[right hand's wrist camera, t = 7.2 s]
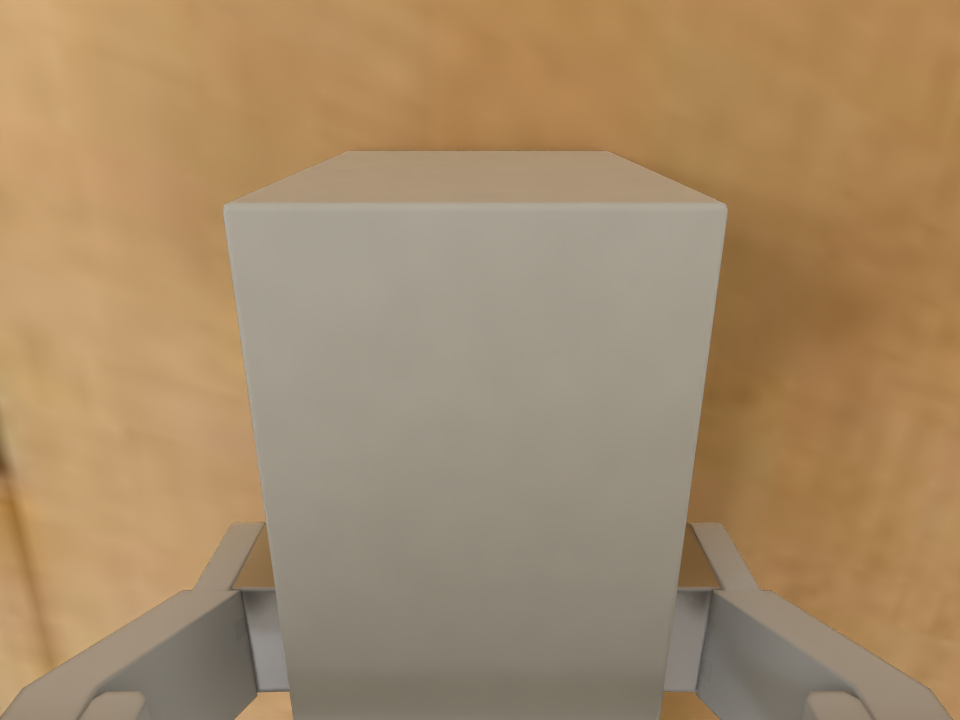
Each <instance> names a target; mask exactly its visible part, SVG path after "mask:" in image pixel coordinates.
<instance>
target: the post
mask: <svg viewBox="0 0 960 720" xmlns="http://www.w3.org/2000/svg"><path fill="white" fill-rule="evenodd" d="M727 215H728V208H727V205H726V204H725V203H723V202H721V201H718V200H716V199H714V198H712V197H709V196H707V195H705V194H703V193H701V192H698V191H696V190H694V189H692V188H689V187H687V186H685V185H683V184H681V183H678V182H676V181H674V180H672V179H669V178H667V177H665V176H663V175H660V174H658V173H656V172H654V171H652V170H649V169H647V168H645V167H643V166H640V165H638V164H636V163H634V162H632V161H629V160H627V159H625V158H623V157H620V156H618V155H616V154H614V153H612V152H609V151H346V152H343V153H341V154H339V155H337V156H334V157H332V158H330V159H327V160H325V161H323V162H320V163H318V164H316V165H313V166H311V167H309V168H306V169H304V170H302V171H299V172H297V173H295V174H293V175H290V176H288V177H286V178H283V179H281V180H279V181H276V182H274V183H272V184H269V185H267V186H265V187H262V188H260V189H258V190H255V191H253V192H251V193H249V194H246V195H244V196H242V197H239V198H237V199H235V200H232V201H230V202H228V203H225V204H224V207H223V217H224V224H225V231H226V238H227V245H228V253H229V260H230V267H231V274H232V281H233V288H234V296H235V303H236V310H237V317H238V324H239V331H240V339H241V346H242V353H243V360H244V367H245V375H246V382H247V389H248V396H249V403H250V410H251V418H252V425H253V432H254V439H255V446H256V453H257V461H258V468H259V475H260V482H261V489H262V496H263V504H264V511H265V518H266V525H267V532H268V540H269V547H270V554H271V561H272V568H273V575H274V583H275V590H276V597H277V604H278V611H279V618H280V626H281V633H282V640H283V647H284V654H285V661H286V669H287V676H288V683H289V690H290V697H291V705H292V712H293V719H294V720H660V713H661V705H662V698H663V691H664V683H665V676H666V668H667V661H668V653H669V646H670V639H671V631H672V624H673V616H674V609H675V601H676V594H677V587H678V579H679V572H680V564H681V557H682V549H683V542H684V535H685V527H686V520H687V512H688V505H689V497H690V490H691V482H692V475H693V468H694V460H695V453H696V445H697V438H698V430H699V423H700V416H701V408H702V401H703V393H704V386H705V378H706V371H707V364H708V356H709V349H710V341H711V334H712V326H713V319H714V312H715V304H716V297H717V289H718V282H719V274H720V267H721V260H722V252H723V245H724V237H725V230H726V222H727Z"/></svg>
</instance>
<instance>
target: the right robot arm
mask: <svg viewBox="0 0 960 720" xmlns="http://www.w3.org/2000/svg"><path fill="white" fill-rule="evenodd" d="M282 691H290V690H289V683H288V676H287V669H286V661H285V654H284V647H283V640H282V633H281V626H280V618H279V611H278V604H277V597H276V590H275V583H274V575H273V568H272V561H271V554H270V547H269V540H268V532H267V525H266V522H236V523H234V524H232V525H231V526H230V527H229V528H228V530H227V532H226V534H225V535H224V537H223V539H222V540H221V542H220V544H219V545H218V547H217V549H216V551H215V552H214V554H213V556H212V557H211V559H210V561H209V563H208V564H207V566H206V568H205V569H204V571H203V573H202V575H201V576H200V578H199V580H198V581H197V583H196V585H195V587H194V588H193V590H182V591H181V592H179V593H177V594H176V595H174V596H172V597H171V598H169V599H168V600H166V601H164V602H163V603H161V604H159V605H158V606H156V607H155V608H153V609H151V610H150V611H148V612H146V613H145V614H143V615H141V616H140V617H138V618H137V619H135V620H133V621H132V622H130V623H128V624H127V625H125V626H124V627H122V628H120V629H119V630H117V631H115V632H114V633H112V634H110V635H109V636H107V637H106V638H104V639H102V640H101V641H99V642H97V643H96V644H94V645H93V646H91V647H89V648H88V649H86V650H84V651H83V652H81V653H79V654H78V655H76V656H75V657H73V658H71V659H70V660H68V661H66V662H65V663H63V664H62V665H60V666H58V667H57V668H55V669H53V670H52V671H50V672H48V673H47V674H45V675H44V676H42V677H40V678H39V679H37V680H35V681H34V682H32V683H31V684H29V685H27V686H26V687H24V688H23V689H22V690H21V691H20V693H19V694H18V695H17V696H16V698H15V699H14V700H13V702H12V703H11V704H10V705H9V707H8V708H7V709H6V711H5V712H4V713H3V714H2V716H1V717H0V720H234V719H235V718H236V717H237V716H238V715H239V714H240V713H241V712H242V711H243V710H244V709H245V708H246V707H247V706H248V705H249V704H250V703H251V702H252V701H253V700H254V699H255V698H256V697H257V692H282ZM664 691H671V692H697V694H696V695H697V696H698V697H699V698H700V699H701V700H702V701H703V702H704V703H705V704H706V705H707V706H708V707H709V709H710V710H711V711H712V712H713V713H714V714H715V715H716V716H717V717H718V718H719V719H720V720H953V719H952V717H951V716H950V715H949V713H948V712H947V711H946V709H945V708H944V707H943V705H942V704H941V703H940V701H939V700H938V699H937V697H936V696H935V695H934V693H933V692H932V691H931V689H929V688H927V687H926V686H924V685H923V684H921V683H919V682H918V681H916V680H915V679H913V678H911V677H910V676H908V675H907V674H905V673H903V672H902V671H900V670H898V669H897V668H895V667H894V666H892V665H890V664H889V663H887V662H886V661H884V660H882V659H881V658H879V657H878V656H876V655H874V654H873V653H871V652H869V651H868V650H866V649H865V648H863V647H861V646H860V645H858V644H857V643H855V642H853V641H852V640H850V639H849V638H847V637H845V636H844V635H842V634H840V633H839V632H837V631H836V630H834V629H832V628H831V627H829V626H828V625H826V624H824V623H823V622H821V621H820V620H818V619H816V618H815V617H813V616H811V615H810V614H808V613H807V612H805V611H803V610H802V609H800V608H799V607H797V606H795V605H794V604H792V603H791V602H789V601H787V600H786V599H784V598H782V597H781V596H779V595H778V594H776V593H774V592H773V591H771V590H761V589H760V587H759V586H758V584H757V582H756V580H755V579H754V577H753V575H752V574H751V572H750V570H749V568H748V567H747V565H746V563H745V561H744V560H743V558H742V556H741V555H740V553H739V551H738V549H737V548H736V546H735V544H734V542H733V541H732V539H731V537H730V536H729V534H728V532H727V530H726V529H725V527H724V525H723V524H721V523H720V522H689V523H686V527H685V535H684V542H683V549H682V557H681V564H680V572H679V579H678V587H677V594H676V601H675V609H674V616H673V624H672V631H671V639H670V646H669V653H668V661H667V668H666V676H665V683H664Z"/></svg>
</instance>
